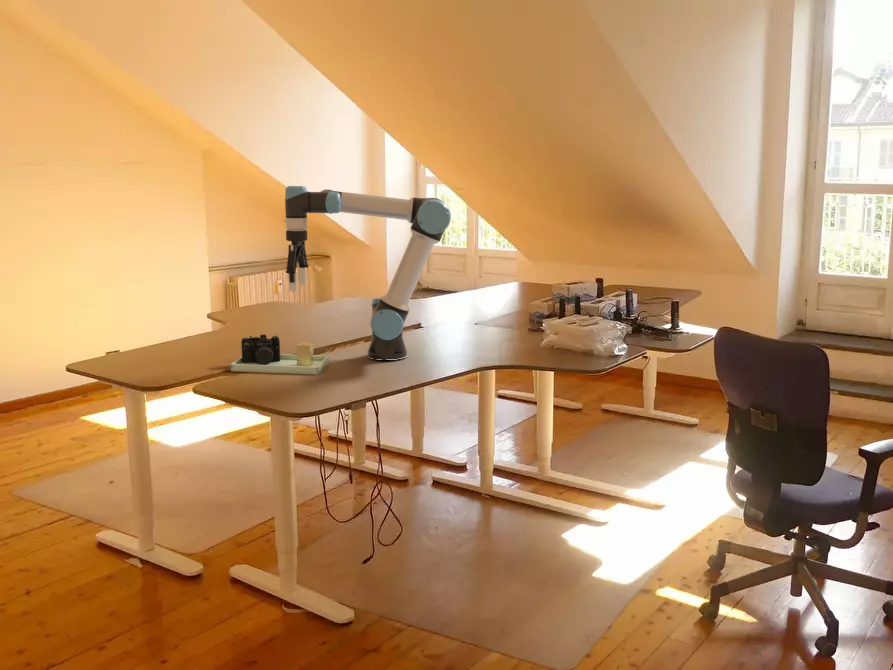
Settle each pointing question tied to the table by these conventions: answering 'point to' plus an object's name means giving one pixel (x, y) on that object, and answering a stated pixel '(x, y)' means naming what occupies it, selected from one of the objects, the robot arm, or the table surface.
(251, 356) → the camera
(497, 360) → the table surface
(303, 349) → the brass block
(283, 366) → the tray
